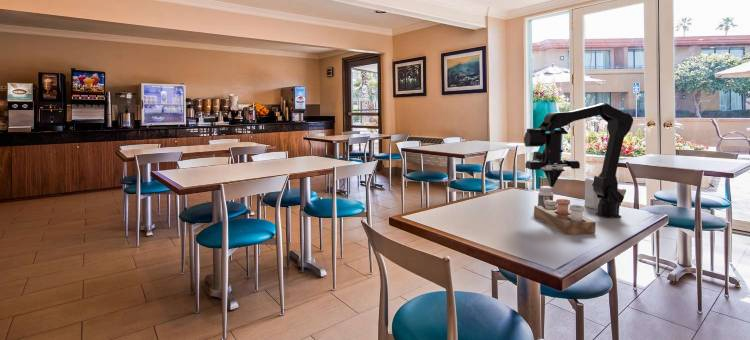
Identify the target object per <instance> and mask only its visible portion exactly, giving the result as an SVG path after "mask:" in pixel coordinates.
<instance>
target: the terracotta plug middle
mask: <svg viewBox="0 0 750 340" xmlns="http://www.w3.org/2000/svg"><path fill="white" fill-rule="evenodd" d="M555 201H556V204H557V214H558V215H568V209H569V206H570V205H571V200H570V199H567V198H558V199H557V198H556V200H555Z"/></svg>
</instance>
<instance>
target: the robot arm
mask: <svg viewBox="0 0 750 340" xmlns="http://www.w3.org/2000/svg"><path fill="white" fill-rule="evenodd" d="M597 116H599V117H600V118H601V119H602V120H603V121H605V122H607V127H606V128H607V132H608V136H609V137H608V141H607V145H606V151H605V155H604V159H603V163H602V169H601V171H600V174H599V175H598V176H597V175H595V176H594V177H593V178H594V182H593V184H592V186H593V190H594V192H595V193H596V194H597V198H600V199H599V203H598V209H597V212H595V214H596V215H598V216H600V217H603V218H609V219H610V218H622V215H620V205H621V204H620V203H622V202H623V201H624V198H625V196H624V195H623V194H621V193H620V191H619V190H618V186H619V183H618V179H617V171H618V166H619V162H620V156H621V153H622V149H623V144H624V139H625V137H626V136H627V134H628V133H630V131H631V128H632V126H633V123H634V118H633V116H632V115H631V114H630V113H627V112H626V113H625V112H624V111H622V110H619V109H618V108H615V107H614V106H611V105H610V104H609V103H605V102H603V103H597V104H595V105H590V106H586V107H582V108H577V109H573V110H570V111H559V112H558V111H557V112H556V111H555V112H549V113H547V114H546V115H545V116H544V118H543V121H542V122H541V124H540V125H539V127H537V128H527V129H526V132H525V133H524V137H523V142H524V143H523V144H524V146H525V147H527V148H529V147H530V148H531V147H532V148H533V147H535V148H537V147H543V146H544V148H543V149H542V152H540V151H534V152H533V154H532V155H533V160H527V161H525V169H527V170H535V171H536V170H540V171H543V173H544V174H545V177H546V180H547V183H548V186H550V187H552V188H554V186H555V185H556V182H557V181H558V179H559V178H560V176H561V174H562V172H565V169H564V167H565V168H566V167H567V168H571V169H572V170H577V169H581V163H580V161H578V160H576V159H563V160H562V153H564V149H563V148H562V143H563V142H562V141H563V139H562V138H563V135H568V134H569V132H568V131H567V130H566V129H565V128H564V127H566V126H568V125H569V124H571V123H573V122H575V121H581V120H584V119H589V118H592V117H597Z"/></svg>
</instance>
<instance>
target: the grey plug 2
mask: <svg viewBox="0 0 750 340" xmlns="http://www.w3.org/2000/svg"><path fill="white" fill-rule="evenodd" d="M585 208H586V206H585V205H581V204H569V206H568V209H569V210H571V220H570V221H571V222H582V216H584V215H583V212H585Z"/></svg>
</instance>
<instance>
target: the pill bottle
mask: <svg viewBox="0 0 750 340" xmlns="http://www.w3.org/2000/svg"><path fill="white" fill-rule="evenodd" d="M539 190H540V191H539V192H538V193H537V194H538V195H537V206H545V205H544V201H545V200H553V201H554V192H552V191H553V187H550V186H549V185H541V186H540V187H539Z"/></svg>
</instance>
